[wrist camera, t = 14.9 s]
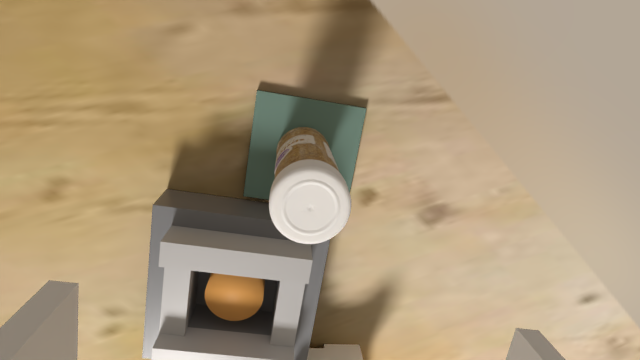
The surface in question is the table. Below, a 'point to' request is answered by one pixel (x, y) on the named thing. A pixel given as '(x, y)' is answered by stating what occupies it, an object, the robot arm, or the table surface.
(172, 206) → the grey square holder
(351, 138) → the mat
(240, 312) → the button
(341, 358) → the bracket
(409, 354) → the table surface
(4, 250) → the table surface
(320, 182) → the sprinkles bottle
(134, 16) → the table surface
